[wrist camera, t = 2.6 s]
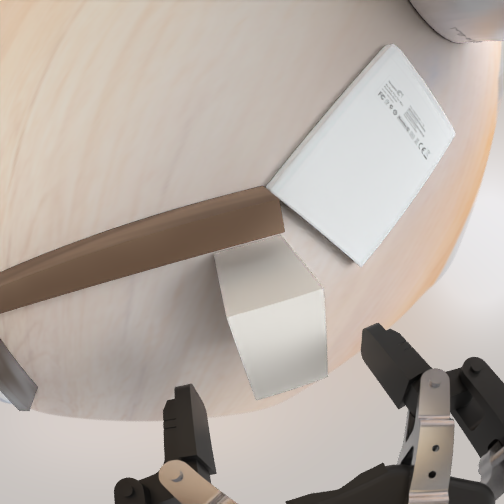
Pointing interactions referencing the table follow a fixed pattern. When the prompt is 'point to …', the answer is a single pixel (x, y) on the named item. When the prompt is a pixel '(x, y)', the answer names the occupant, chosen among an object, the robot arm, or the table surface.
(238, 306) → the block
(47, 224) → the table surface
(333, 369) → the table surface
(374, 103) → the external hard drive
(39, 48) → the table surface
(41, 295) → the guide fence
